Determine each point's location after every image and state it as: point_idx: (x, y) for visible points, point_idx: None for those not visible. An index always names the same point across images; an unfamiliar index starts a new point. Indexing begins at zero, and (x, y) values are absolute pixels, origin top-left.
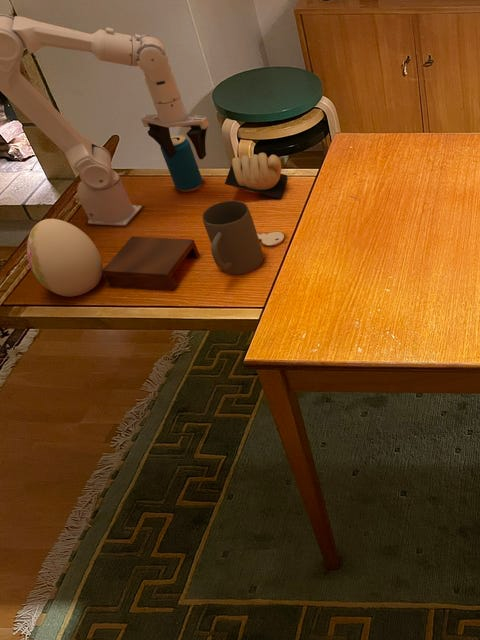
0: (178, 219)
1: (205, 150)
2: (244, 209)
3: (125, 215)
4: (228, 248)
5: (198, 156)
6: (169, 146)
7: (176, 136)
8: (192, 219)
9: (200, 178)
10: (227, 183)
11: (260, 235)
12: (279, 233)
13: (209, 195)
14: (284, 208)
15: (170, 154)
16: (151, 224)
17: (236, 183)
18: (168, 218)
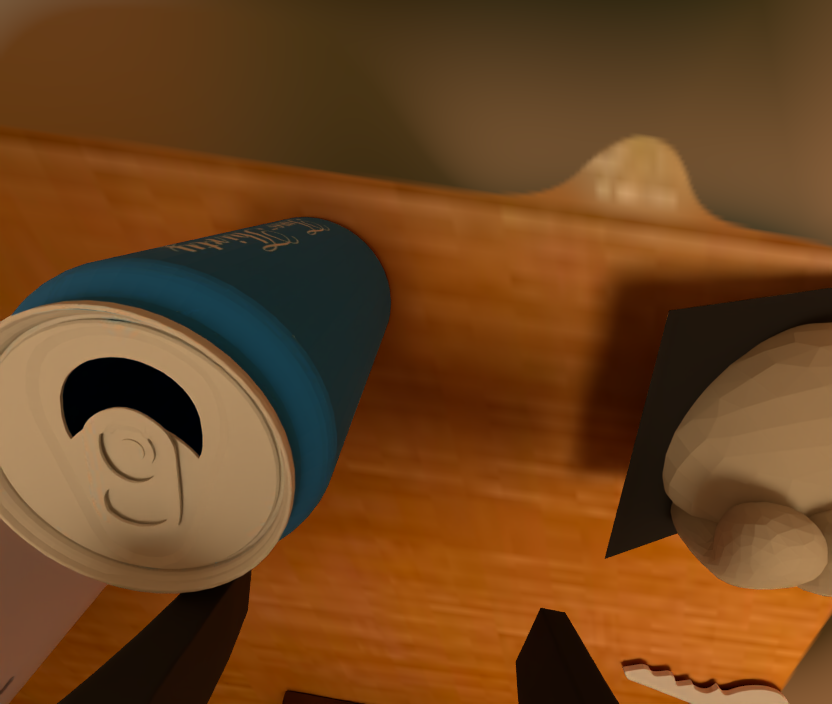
0: (357, 554)
1: (589, 658)
2: None
3: None
4: None
5: (522, 702)
6: (193, 688)
7: (108, 333)
8: (416, 561)
9: (387, 314)
10: (619, 545)
11: (703, 697)
12: (775, 698)
13: (450, 398)
14: None
15: (232, 641)
16: (258, 568)
17: (661, 515)
18: (311, 542)
